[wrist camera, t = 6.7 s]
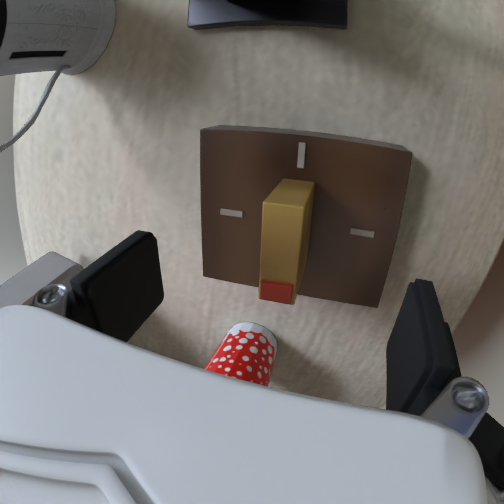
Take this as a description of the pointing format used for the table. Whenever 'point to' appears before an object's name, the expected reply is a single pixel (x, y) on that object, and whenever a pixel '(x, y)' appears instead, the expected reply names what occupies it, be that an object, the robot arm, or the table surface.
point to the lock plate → (324, 206)
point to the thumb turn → (285, 239)
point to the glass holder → (52, 39)
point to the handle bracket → (267, 13)
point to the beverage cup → (245, 354)
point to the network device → (38, 279)
